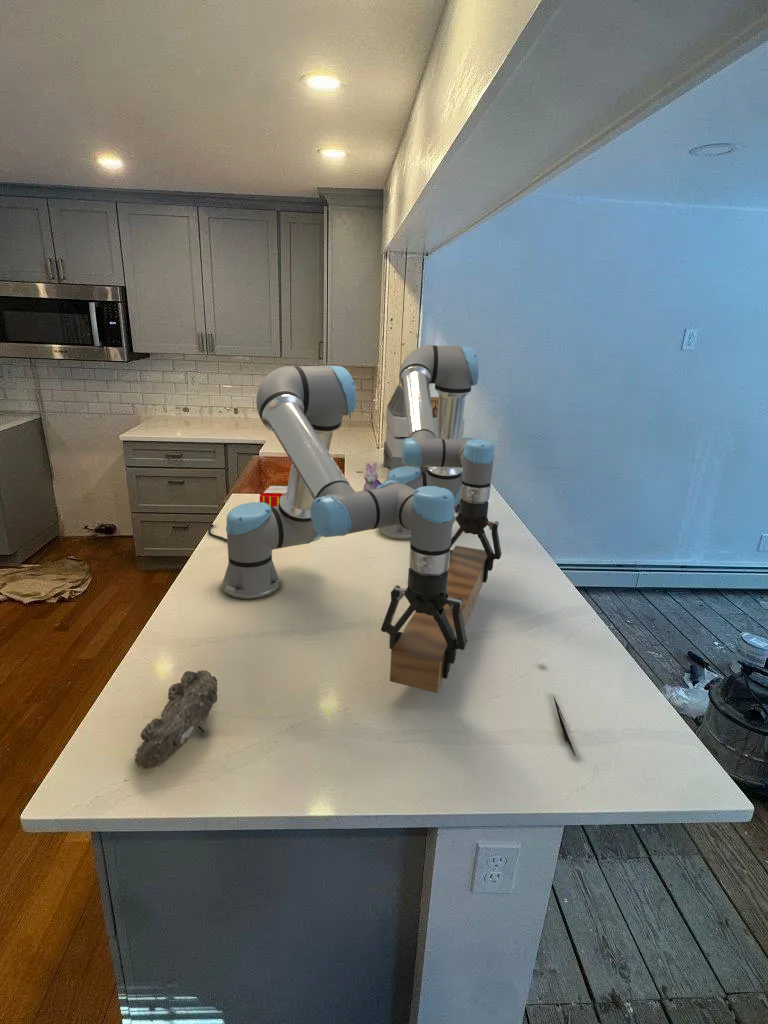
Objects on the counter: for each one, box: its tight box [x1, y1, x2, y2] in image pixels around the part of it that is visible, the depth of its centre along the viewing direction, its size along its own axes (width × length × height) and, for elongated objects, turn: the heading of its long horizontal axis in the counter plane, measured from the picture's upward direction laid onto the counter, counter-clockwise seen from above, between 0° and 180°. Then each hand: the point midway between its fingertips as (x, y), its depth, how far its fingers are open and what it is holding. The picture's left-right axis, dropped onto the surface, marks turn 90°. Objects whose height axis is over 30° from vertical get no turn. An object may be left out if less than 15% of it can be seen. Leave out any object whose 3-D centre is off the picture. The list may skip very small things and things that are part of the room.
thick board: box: [389, 545, 487, 694], centre depth 134 cm, size 57×10×7 cm, turn 161°
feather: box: [552, 695, 579, 756], centre depth 115 cm, size 2×28×2 cm
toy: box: [259, 485, 288, 507], centre depth 208 cm, size 12×13×30 cm
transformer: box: [383, 384, 465, 471], centre depth 268 cm, size 34×33×41 cm
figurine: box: [363, 461, 382, 491], centre depth 233 cm, size 9×10×15 cm
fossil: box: [134, 669, 218, 770], centre depth 103 cm, size 22×10×15 cm
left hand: (421, 668), depth 114 cm, fingers closed on thick board, 10 cm apart
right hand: (466, 576), depth 155 cm, fingers closed on thick board, 10 cm apart
